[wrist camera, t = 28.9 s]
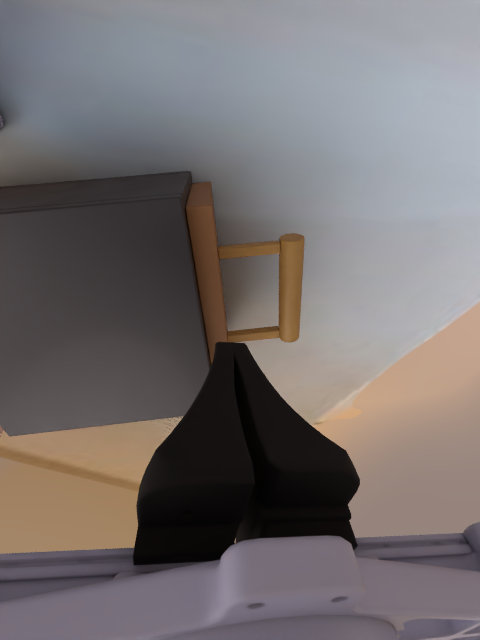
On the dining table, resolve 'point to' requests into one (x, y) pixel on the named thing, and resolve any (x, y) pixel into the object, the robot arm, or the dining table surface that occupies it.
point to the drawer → (211, 253)
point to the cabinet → (98, 304)
